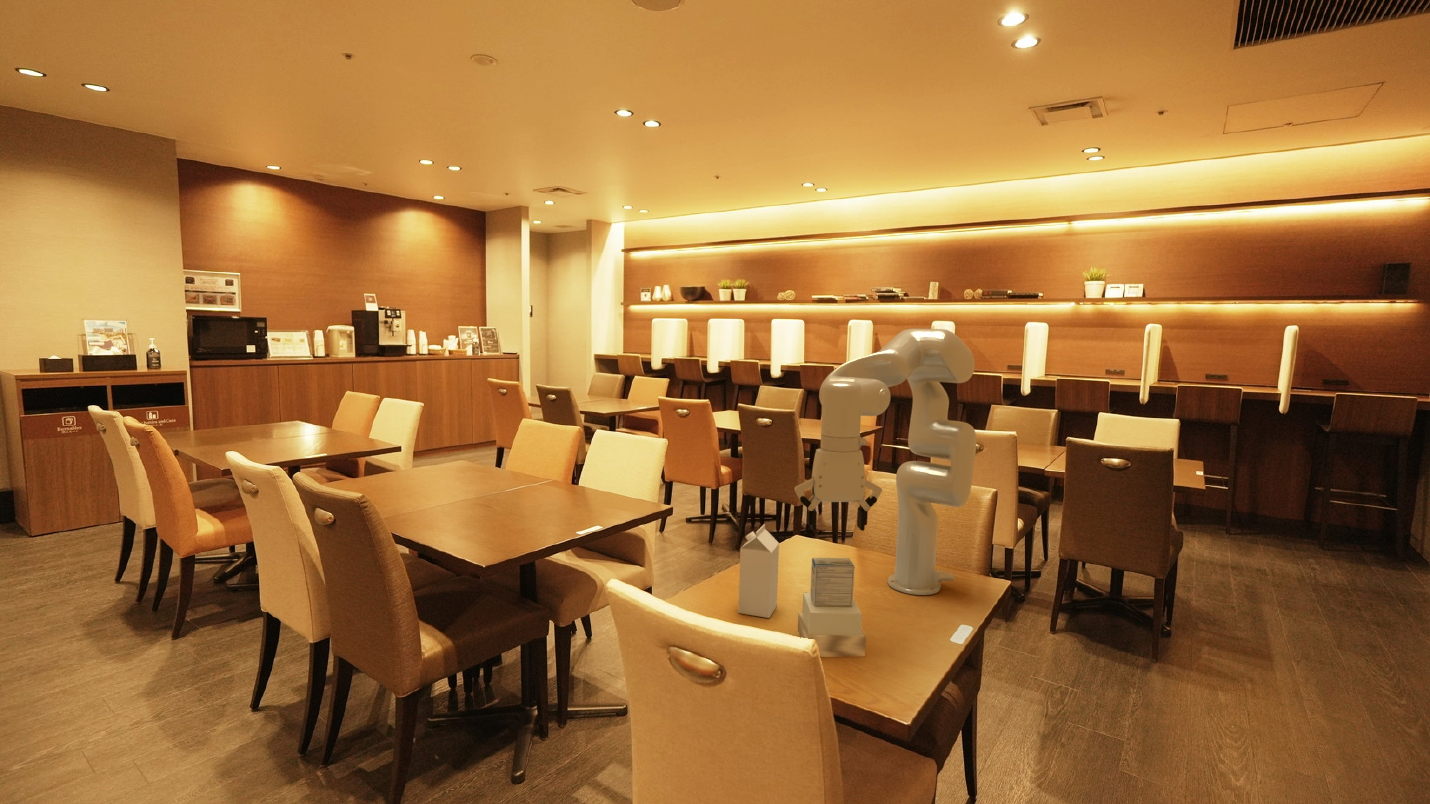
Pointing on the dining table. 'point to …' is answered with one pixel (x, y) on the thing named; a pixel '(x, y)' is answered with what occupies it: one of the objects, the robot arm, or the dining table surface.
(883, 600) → the dining table surface
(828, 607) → the tower top
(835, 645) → the tower base
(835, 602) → the medicine box
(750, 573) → the milk carton
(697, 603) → the dining table surface
